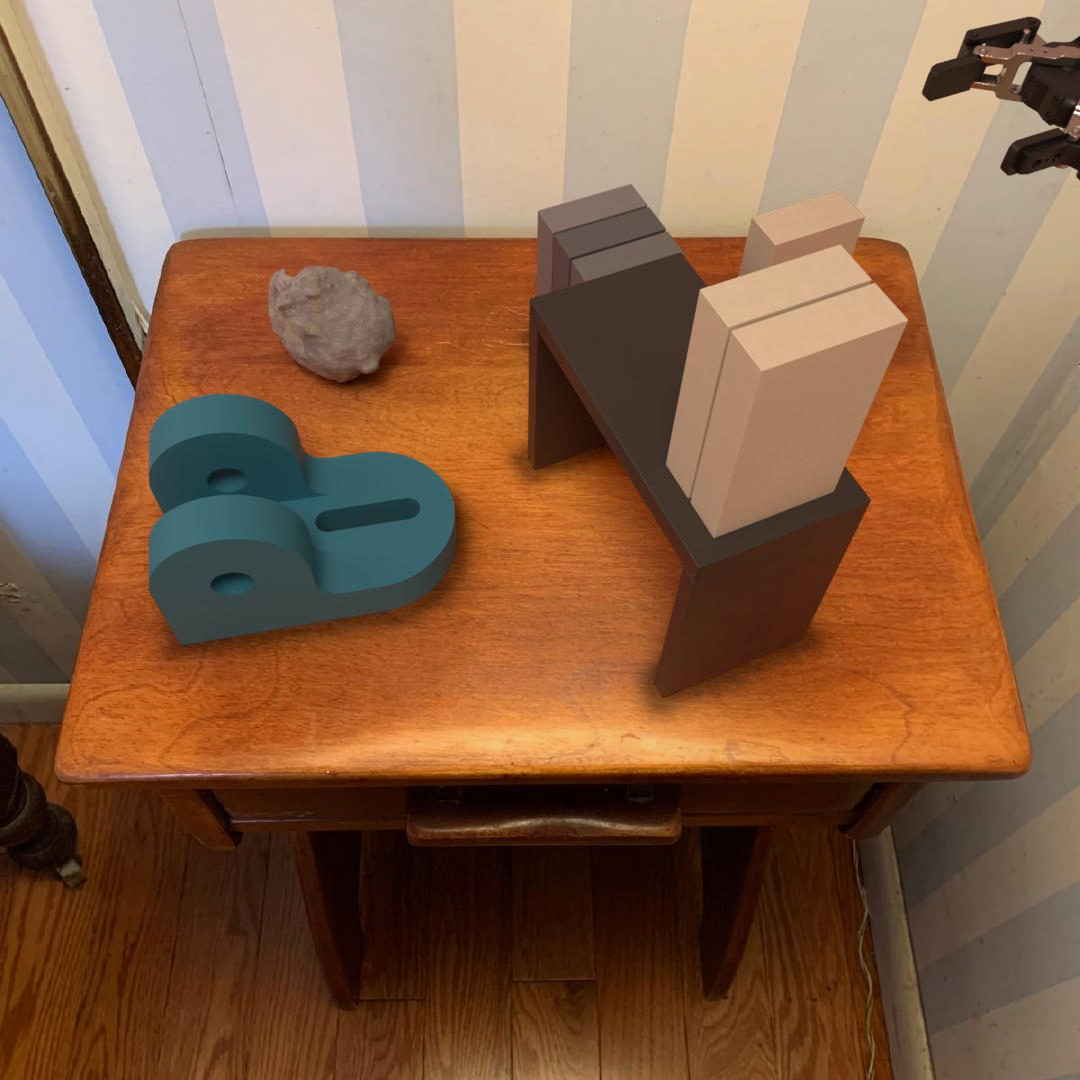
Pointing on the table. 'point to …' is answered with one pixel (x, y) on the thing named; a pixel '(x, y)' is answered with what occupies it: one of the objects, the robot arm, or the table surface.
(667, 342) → the shelf
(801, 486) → the white books
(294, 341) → the stone
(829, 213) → the beige rectangular block
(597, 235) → the grey books
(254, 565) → the bracket
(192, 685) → the table surface
